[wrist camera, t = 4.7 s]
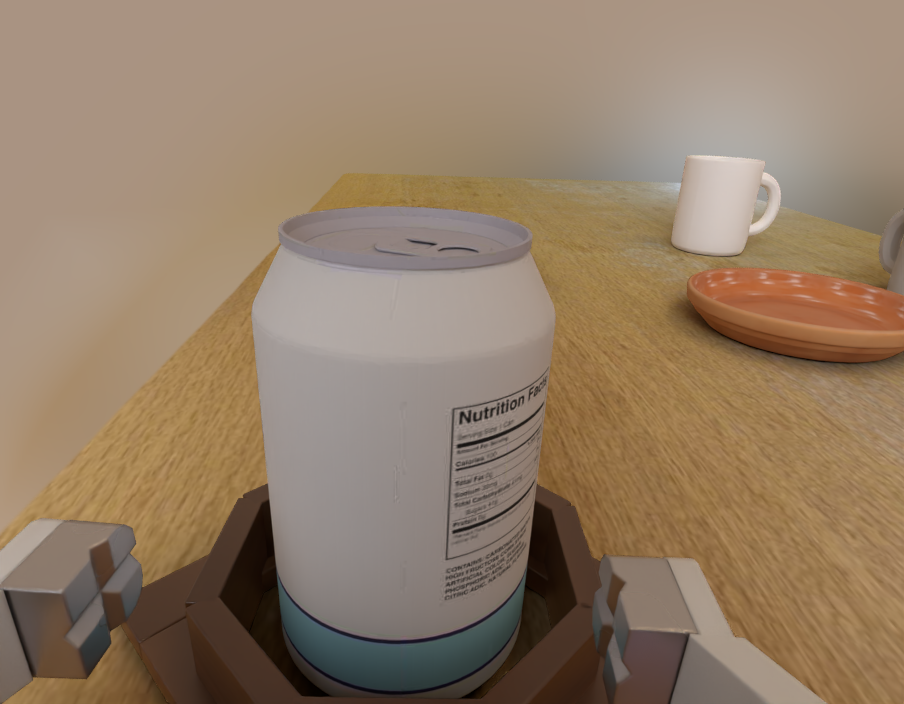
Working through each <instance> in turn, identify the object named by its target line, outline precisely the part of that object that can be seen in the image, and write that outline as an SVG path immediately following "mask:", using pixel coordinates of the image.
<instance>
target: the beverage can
mask: <svg viewBox="0 0 904 704" xmlns="http://www.w3.org/2000/svg"><path fill="white" fill-rule="evenodd" d="M278 231H279V241H280V243H281V245H280V248H279V250H278V252H277V254H276V256H275V258H274V260H273V262H272V264H271V266H270V268H269V270H268V272H267V275H266V277H265V279H264V281H263V283H262V285H261V287H260V289H259V291H258V293H257V295H256V297H255V299H254V302H253V305H252V326H253V336H254V346H255V356H256V367H257V377H258V387H259V397H260V407H261V417H262V428H263V438H264V448H265V458H266V468H267V478H268V489H269V499H270V509H271V519H272V529H273V539H274V550H275V560H276V570H277V580H278V590H279V600H280V611H281V621H282V631H283V636H284V640H285V644H286V646H287V649H288V652H289V654H290V655H291V657H292V659H293V661H294V663H295V664H296V665H297V667H298V668H299V670H300V671H301V672H302V673H303V674H304V675H305V677H306V678H308V679H309V680H310V681H311V682H312V683H313V684H314V685H316V686H317V687H318V688H319V689H321V690H322V691H324V692H325V693H327V694H329V695H330V696H332V697H375V698H449V699H459V698H461V697H463V696H465V695H467V694H468V693H470V692H472V691H473V690H475V689H476V688H478V687H479V686H481V685H482V684H483V683H484V682H486V681H487V680H488V679H489V678H490V677H491V676H493V675H494V674H495V673H496V671H497V670H498V669H499V668H500V667H501V666H502V664H503V663H504V662H505V660H506V659H507V657H508V656H509V654H510V652H511V650H512V648H513V646H514V644H515V642H516V639H517V636H518V633H519V628H520V623H521V614H522V605H523V597H524V588H525V580H526V571H527V562H528V554H529V545H530V537H531V528H532V519H533V511H534V502H535V493H536V485H537V476H538V468H539V459H540V450H541V442H542V433H543V424H544V416H545V407H546V399H547V390H548V381H549V373H550V364H551V355H552V347H553V338H554V330H555V318H556V317H555V309H554V306H553V303H552V301H551V298H550V296H549V294H548V291H547V289H546V287H545V285H544V282H543V280H542V278H541V275H540V273H539V271H538V269H537V266H536V264H535V262H534V259H533V257H532V255H531V252H530V249H531V245H532V232H531V231H530V230H529V229H528V228H527V227H525V226H523V225H521V224H519V223H516V222H514V221H510V220H507V219H504V218H500V217H495V216H491V215H486V214H480V213H474V212H467V211H459V210H450V209H439V208H424V207H354V208H341V209H331V210H323V211H317V212H311V213H306V214H302V215H299V216H295V217H292V218H289V219H288V220H285V221H284V222H282V223H281V224H280V225H279V228H278Z"/></svg>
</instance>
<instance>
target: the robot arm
mask: <svg viewBox="0 0 904 704" xmlns="http://www.w3.org/2000/svg"><path fill="white" fill-rule="evenodd" d="M135 545H136V540H135V537H134V533H133V529H132V528H131V527H129V526H127V525H123V524H112V523H100V522H89V521H77V520H69V521H68V520H59V519H47V518H41V519H38V520H35V521H32V522H31V523H30V524H28V525H27V526H26V527H25V528H24V529H23V530H22V531H21V532H20V533H19V534H18V535H17V536H15V537H14V538H13V539H12V540H11V541H10V542H9V543H8V544H7V545H6V546H5V547H4V548H2V549H1V550H0V704H2V703H3V702H4V701H6V700H7V699H8V698H10V697H11V696H12V695H14V694H15V693H16V692H18V691H19V690H20V689H22V688H23V687H25V686H26V685H27V684H29V683H30V682H31V681H33V678H32V677H40V678H68V679H87V678H88V677H89V675H90V674H91V672H92V671H93V669H94V668H95V666H96V665H97V664H98V662H99V661H100V659H101V658H102V656H103V655H104V653H105V652H106V650H107V649H108V648H109V646H110V645H111V637H110V631H111V630H113V629H115V628H116V627H118V626H119V625H121V624H122V623H124V622H126V621H127V620H128V618H129V616H130V615H131V613H132V612H133V610H134V609H135V607H136V605H137V602H138V599H139V596H140V593H141V590H142V579H143V574H142V569H141V564H140V563H139V562H138V561H137V560H136V559H135V558H134V557H133V556H132V555H131V554H130V552H131V550H132V549H133V547H134V546H135ZM599 576H600V580H601V584H602V587H601V588H600V589H598V590H597V591H596V592H595V595H594V602H593V617H592V626H593V634H594V641H595V645H596V650H597V652H598V653H599V654H600V655H601V656H602V657H603V658H604V659H605V663H604V669H603V674H602V677H603V682H604V686H605V690H606V695H607V699H608V704H827V703H826V702H825V701H823V700H822V699H821V698H820V697H818V696H817V695H816V694H815V693H813V692H812V691H811V690H810V689H808V688H807V687H806V686H805V685H803V684H802V683H801V682H799V681H798V680H797V679H796V678H794V677H793V676H792V675H791V674H789V673H788V672H787V671H786V670H784V669H783V668H782V667H781V666H779V665H778V664H777V663H775V662H774V661H773V660H772V659H770V658H769V657H768V656H767V655H765V654H764V653H763V652H762V651H760V650H759V649H758V648H757V647H755V646H754V645H753V644H751V643H750V642H749V641H748V640H746V639H745V638H742V637H735V636H734V634H733V632H732V630H731V628H730V626H729V624H728V622H727V620H726V618H725V616H724V614H723V612H722V610H721V608H720V606H719V604H718V602H717V600H716V598H715V596H714V594H713V592H712V590H711V588H710V586H709V584H708V582H707V580H706V578H705V576H704V574H703V572H702V570H701V568H700V566H699V564H698V562H697V561H695V560H694V559H693V558H673V557H663V558H660V557H643V556H624V555H606V554H604V555H603V557H602V560H601V563H600V568H599Z"/></svg>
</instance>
